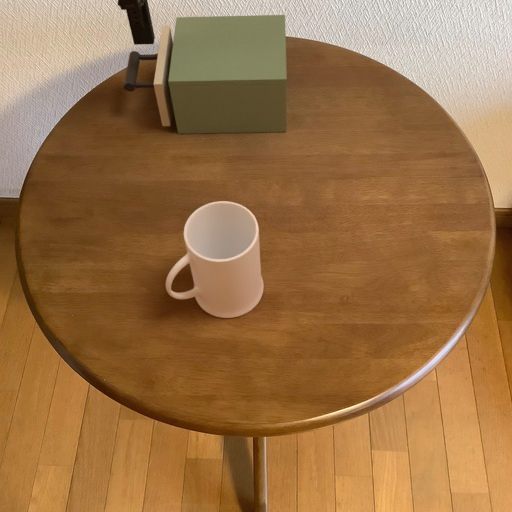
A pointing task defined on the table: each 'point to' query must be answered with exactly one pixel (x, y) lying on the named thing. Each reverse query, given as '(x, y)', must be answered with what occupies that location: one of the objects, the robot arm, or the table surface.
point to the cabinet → (229, 74)
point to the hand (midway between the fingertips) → (144, 40)
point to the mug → (222, 259)
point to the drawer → (160, 74)
